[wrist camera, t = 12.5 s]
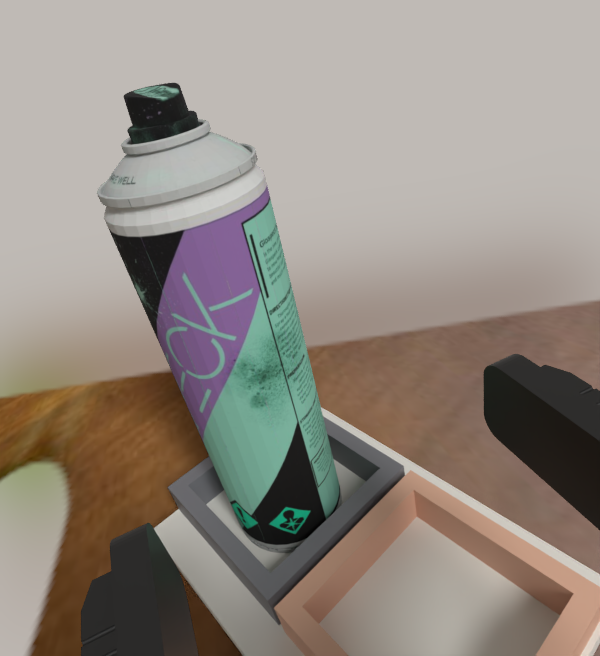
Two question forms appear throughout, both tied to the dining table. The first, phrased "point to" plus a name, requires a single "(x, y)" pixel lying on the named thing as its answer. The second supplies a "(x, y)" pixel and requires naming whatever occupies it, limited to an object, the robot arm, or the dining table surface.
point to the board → (383, 569)
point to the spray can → (223, 313)
